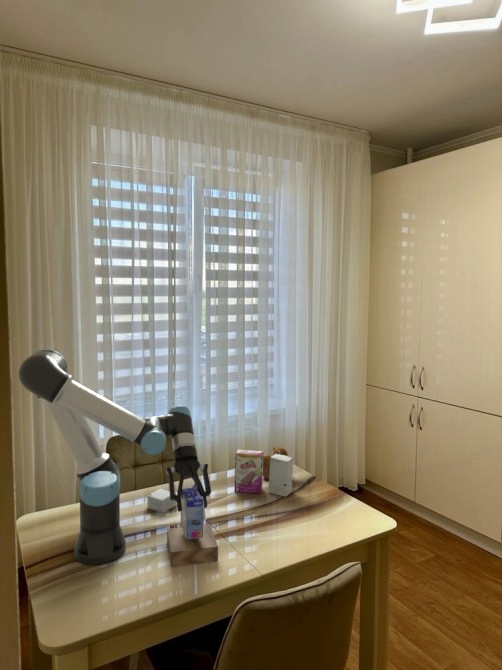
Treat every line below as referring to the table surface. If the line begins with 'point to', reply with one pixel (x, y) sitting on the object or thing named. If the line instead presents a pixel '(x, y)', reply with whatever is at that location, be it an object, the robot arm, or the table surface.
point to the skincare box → (280, 475)
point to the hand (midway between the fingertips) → (194, 519)
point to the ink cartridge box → (192, 513)
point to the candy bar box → (248, 471)
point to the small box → (160, 501)
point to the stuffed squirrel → (267, 461)
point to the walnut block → (191, 547)
